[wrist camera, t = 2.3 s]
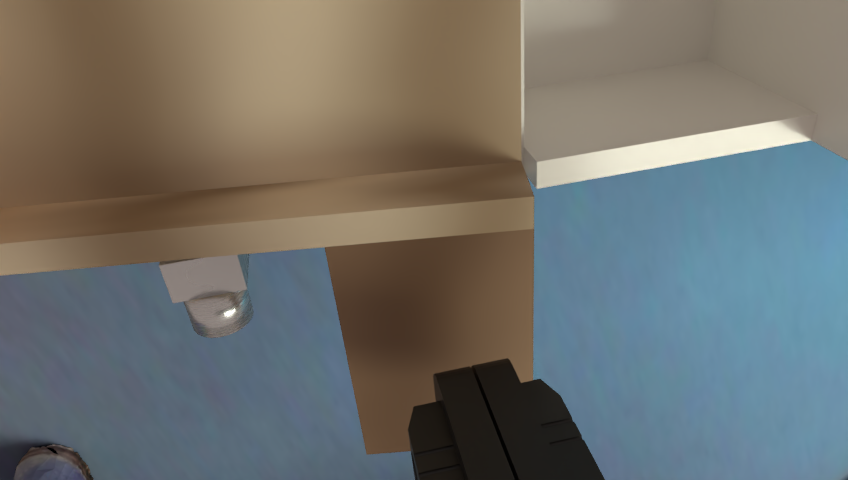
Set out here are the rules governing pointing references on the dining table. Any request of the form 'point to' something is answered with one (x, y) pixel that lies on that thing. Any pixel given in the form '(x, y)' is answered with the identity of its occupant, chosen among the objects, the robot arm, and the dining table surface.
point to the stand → (211, 292)
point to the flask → (52, 465)
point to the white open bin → (676, 82)
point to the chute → (287, 163)
